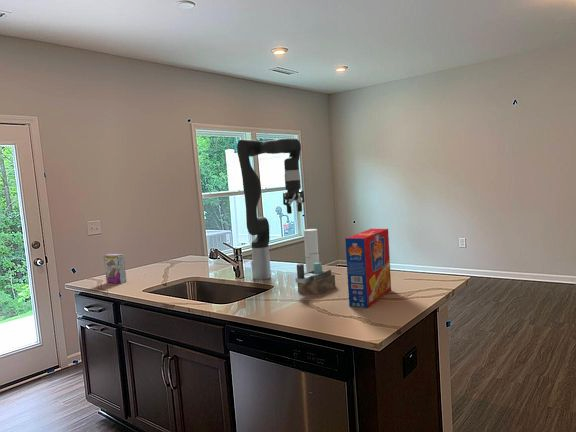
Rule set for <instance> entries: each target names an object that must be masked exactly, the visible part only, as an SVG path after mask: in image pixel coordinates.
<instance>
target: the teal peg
mask: <svg viewBox="0 0 576 432" xmlns="http://www.w3.org/2000/svg"><path fill="white" fill-rule="evenodd" d="M313 266H314V274H319V273H321V272H323V263H322V262H319V263H313Z"/></svg>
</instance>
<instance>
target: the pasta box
mask: <svg viewBox="0 0 576 432" xmlns="http://www.w3.org/2000/svg"><path fill="white" fill-rule="evenodd" d="M389 239H390V238H389V228H370V229H369V228H368V229H366V230H364V231H362V232H359V233H356V234H353V235H350V236H347V237H345V240H344V241H345V254H346V256H345V257H346V274H347V285H348V286H347V288H348V305H349V306H348V307H351V308H353V307H354V308H360V307H362V308H361V309H369V308H370V307H372V306H373V305H374V304H376V303H377V302H378V301H379V300H381V299H382V298H383V297H385V296H386V295H387V294H388V293H390V292H391V291H392V281H391V264H390V263H391V262H390V261H391V259H390V240H389ZM389 291H390V292H389ZM385 294H386V295H385ZM384 295H385V296H384ZM381 297H382V298H381ZM380 298H381V299H380ZM376 301H377V302H376ZM372 304H373V305H372ZM371 305H372V306H371Z"/></svg>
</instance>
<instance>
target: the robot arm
mask: <svg viewBox="0 0 576 432" xmlns="http://www.w3.org/2000/svg"><path fill="white" fill-rule="evenodd" d="M301 149H302V147H301V142H300V140H299V139H298V138H279V139H276V138H275V139H267V140H265V141H261V140H255V139H253V138H251V139H250V138H247V139H246V138H243V139H239V140H238V142H237V144H236V152H237V153H236V154H237V156H238V161H239V166H240V171H241V178H242V186H243V193H244V203H245V217H246V218H245V219H246V221H245V222H246V229H247V232H248V234H250V236H256V238H254V240H252V241H251V254H252V255H251V256H252V260H251V274H252V279H254V280H256V279H257V280H258V281H263V280H268V279H270V278H271V277H272V273H271V262H270V261H271V260H270V248H269V247H270V245H269V243H270V224H269V220H268V219H267V217H264V216H259V217H258V211H257V210H258V205H259V204H258V203H259V201H260V199H261V196H262V195H261V194H262V187H261V180H260V178H259V176H258V174H257V173H256V172H255V170H254V168H253V166H252V165H251V161H250V158H251V157H255V156H259V155H261V154H272V155H275V154H289V157H288V158H286V159H284V161H283V164H284V184H285V190H286V192H283V193H282V202H283V203H282V204H283V205H284V206H286V213H287V214H289V215H290V214H292V212H293V209H292V204H293V202H294V201H295V202H296V204H297V205H296V207H297V212H299V213H301V212H303V203H305V193H304V190H301V187H302V186H301V184H302V183H301V174H300V164H299V160H300V157H301V156H300V155H301V151H302V150H301ZM283 205H282V206H283Z"/></svg>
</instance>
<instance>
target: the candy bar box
mask: <svg viewBox="0 0 576 432" xmlns="http://www.w3.org/2000/svg"><path fill="white" fill-rule="evenodd" d="M124 255H125V254H124V253H121V254H119V253H108V254H104V255H103V263H104V268H105V269H104V270H105V271H104V272H105V280H106V283H107V284H116V285H117V284H118V285H120V284H124V283H127V273H126V264H125V262H126V261H125V256H124Z"/></svg>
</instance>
